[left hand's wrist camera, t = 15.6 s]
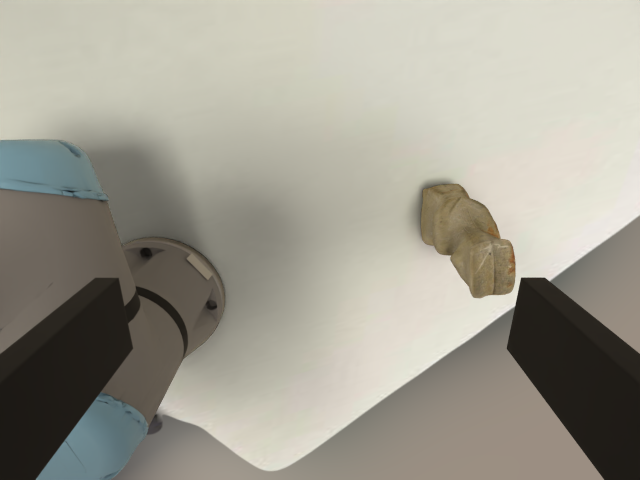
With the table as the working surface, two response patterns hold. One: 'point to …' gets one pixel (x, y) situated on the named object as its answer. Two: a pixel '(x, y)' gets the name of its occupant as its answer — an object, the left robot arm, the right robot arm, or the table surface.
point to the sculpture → (468, 239)
